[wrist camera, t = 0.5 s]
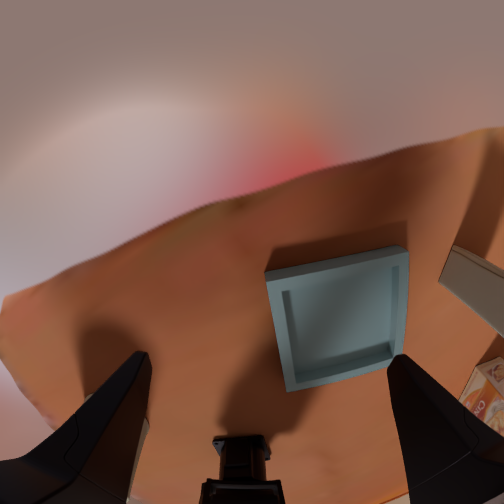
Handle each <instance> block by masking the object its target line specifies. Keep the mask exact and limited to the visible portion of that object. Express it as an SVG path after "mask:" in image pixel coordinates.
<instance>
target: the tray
mask: <svg viewBox="0 0 504 504" xmlns="http://www.w3.org/2000/svg"><path fill="white" fill-rule="evenodd" d="M264 273H265V279H266V284H267V290H268V295H269V300H270V305H271V311H272V316H273V321H274V327H275V332H276V337H277V343H278V348H279V353H280V359H281V364H282V370H283V375H284V381H285V386H286V392H292V391H297V390H302V389H307V388H312V387H316V386H321V385H325V384H329V383H333V382H337V381H341V380H345V379H348V378H352V377H356V376H359V375H362V374H366V373H369V372H372V371H376V370H379V369H382V368H385V367H388V366H389V365H390V363H391V361H392V360H393V358H394V356H395V355H398V354H402V351H403V343H404V335H405V325H406V314H407V301H408V281H409V251H407V250H406V249H404V248H403V247H401V246H399V245H394V246H389V247H385V248H380V249H375V250H371V251H366V252H361V253H357V254H352V255H347V256H342V257H338V258H333V259H328V260H323V261H318V262H313V263H308V264H303V265H298V266H293V267H288V268H283V269H278V270H273V271H268V272H264Z"/></svg>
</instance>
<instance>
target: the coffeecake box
mask: <svg viewBox="0 0 504 504" xmlns="http://www.w3.org/2000/svg"><path fill="white" fill-rule="evenodd" d="M458 401H459V402H461V403H462V404H463V406H465V407H466V408H467V409H468V410H469V411H471V412H472V413H473V414H474V415H475V416H476V417H478V418H479V419H480V420H481V421H483V422H484V423H485V424H487V425H488V426H489V427H491V428H492V429H493V430H495V431H496V432H497V433H499V434H500V435H502V436H503V437H504V360H503V359H502V358H501V357H498V358H495V359H493V360H491V361H488V362H485V363H482V364H480V365H478V366H476V367H475V369H474V371H473V373H472V375H471V377H470V379H469V381H468V383H467V385H466V387H465V389H464V391H463V393H462V395H461V397H460V399H459V400H458Z"/></svg>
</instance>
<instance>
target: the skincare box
mask: <svg viewBox="0 0 504 504" xmlns="http://www.w3.org/2000/svg"><path fill="white" fill-rule="evenodd" d="M439 283H440V284H441V285H442V286H444V287H445V288H446V289H447V290H449V291H450V292H451V293H452V294H454V295H455V296H456V297H457V298H459V299H460V300H461V301H462V302H463V303H465V304H466V305H467V306H468V307H469V308H470V309H472V310H473V311H474V312H475V313H476V314H477V315H479V316H480V317H481V318H482V319H483V320H484V321H485V322H487V323H488V324H489V325H490V326H491V327H492V328H493V329H494V330H495V331H497V332H498V333H499V334H500V335H501V336H502V337H503V338H504V270H502V269H501V268H499V267H497V266H495V265H494V264H492V263H490V262H489V261H487V260H485V259H483V258H481V257H479V256H477V255H475V254H473V253H471V252H469V251H467V250H465V249H463V248H461V247H458V246H456V245H453V247H452V250H451V252H450V254H449V257H448V260H447V262H446V265H445V267H444V269H443V272H442V274H441V276H440V279H439Z"/></svg>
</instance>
